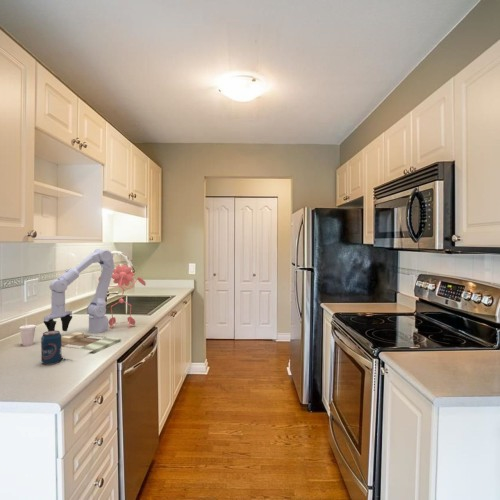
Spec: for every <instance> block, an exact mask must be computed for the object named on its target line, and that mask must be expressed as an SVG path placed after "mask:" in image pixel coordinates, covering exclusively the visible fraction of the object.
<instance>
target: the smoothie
mask: <svg viewBox="0 0 500 500" xmlns="http://www.w3.org/2000/svg"><path fill="white" fill-rule="evenodd" d="M36 329H37V325H36V324H28V316H25V325H22V326H19V331H20V337H21V343H22V347H23V346H24V347H28V346H32V345H33V344H34V340H35V332H36Z"/></svg>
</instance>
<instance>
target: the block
mask: <svg viewBox="0 0 500 500" xmlns="http://www.w3.org/2000/svg"><path fill="white" fill-rule="evenodd" d="M84 335H85V333H84V332H77V331H74V332H71V333H68V334H65V335H63V336H62V335H61V343H72V342H74V341H77V340H80V339H82V338H84Z"/></svg>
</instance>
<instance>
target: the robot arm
mask: <svg viewBox="0 0 500 500" xmlns="http://www.w3.org/2000/svg"><path fill="white" fill-rule="evenodd" d="M97 263H98V264H99V265H100V266H101V268H102V271H101V273H100V275H99V277H100V280H98V283H97V287H96V291H95V294H94V297H93V298H92V299H91V300H90V303H89V304H88V306H87V308H86V312H87V314H88V333H89V334H99V333H103V332H105V331H109V318H108V316H106V313H107V308H106V307H107V301H106V298H107V294H108V290H109V289H110V287H109V286H110V284H111V280H112V278H111V277H112V274H114V273H113V270H114V269H115V262H114V254H113V253H112V252H111V251H110V250H109V249H100V248H99V249H98V248H97V249H95V250H94V251H93V252H91V253H89V254H88V255H87V256H86V257H85V258H84V259H83V260H82V261H81V262H80V263H79V264H77V265H76V266H75V267H73V268H71V267H70V268H68V269H65V272H64V273H63V274H61V275H60V276H57V277H56V278H57V279H54V280H52V281H51V282H50V285H48V286H49V289H50V290H51V297H50V298H51V300H50V301H51V306H50V307H51V310H50V311H51V313H50V314H49V315H46V316H44V317H43V323H44V325H45V327H46V329H47V331H56V330H55V328H56V325H57V320H56V319H60V321H61V329H62V332H67V331H68V328H69V325H70V323H71V321H72V319H73V311H72V310H67V311H66V290H68V286H69V285H71V284H72V283H73V282H75V281H76V280H77V279H78V278H79V277H80V273H82V272H83V271H84V270H86V269H87V268H88V267H89V266H90V265H92V264H97Z"/></svg>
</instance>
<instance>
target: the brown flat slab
mask: <svg viewBox="0 0 500 500" xmlns="http://www.w3.org/2000/svg"><path fill="white" fill-rule="evenodd" d="M95 337H98V338H93V337H92V335H90V334H84V338H82V339H80V340H77V341H74V342H72V343H61V348H66V346H67V345H72V347H71V346H68V348H69V349H75V347H73V346H81V347H76V349H80V350H87V351H88V350H89V352H88V354H92V355H94V354H97V353H98V352H101V351H104V350H105V349H107V348H108V349H109V348H110V347H112V346H114V345H117V344H119V343H121V342H122V340H121V339H122V338H119V337H110V336H109V337H108V336H105V337H102V338H101V336H98V335H95Z"/></svg>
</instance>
